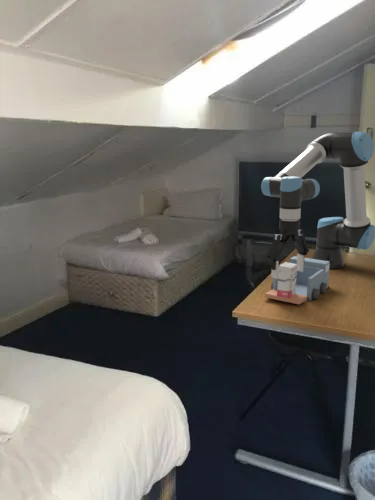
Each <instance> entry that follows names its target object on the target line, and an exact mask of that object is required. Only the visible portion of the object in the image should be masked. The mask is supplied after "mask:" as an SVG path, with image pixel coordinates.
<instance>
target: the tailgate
mask: <svg viewBox="0 0 375 500" xmlns="http://www.w3.org/2000/svg"><path fill="white" fill-rule="evenodd" d="M264 298H266V299H267V298H268V299H271V300H277V301H281V302H285V303H291V304H296V305H301V304H302V303H304V302H307V301H306V300H307V296H305V295H300V294H293V295H292V296H291V297H289V298H285V297H279V296H277V290H275V289H273V290H271V289H270V290H269V291H266V292H265V293H264Z"/></svg>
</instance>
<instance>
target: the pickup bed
mask: <svg viewBox="0 0 375 500" xmlns="http://www.w3.org/2000/svg"><path fill="white" fill-rule="evenodd" d="M289 263H293V264H297V255H294V256H292V257H290V258H289ZM329 265H330V261H324V260H317V259H312V258H311V257H310V258H309V257H304V264H303V272H300V271H297V278H296V290H295V294H300V295H305V296H307V300H306V301H305V302H311V301H312V300H318V299H319V296H320V293H322V294H325V293H326V292H327V290H328V288H329V278H330V277H329V275H330V268H329ZM278 272H279V268H278ZM277 287H278V279H276V278H273V277H272V282H271V286H270V291H271V290H273V289H275V290H277Z"/></svg>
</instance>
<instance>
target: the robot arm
mask: <svg viewBox="0 0 375 500" xmlns="http://www.w3.org/2000/svg"><path fill="white" fill-rule="evenodd" d="M374 148H375V147H374V141H373V138H372V137H371V135H370V134H369V133H368V132H366V131H363V132H362V131H357V130H356V131H331V132H328V133H325V134H322V135H321V136H319V137H316V138H315V139H314V140H313V141H311V142H310V143H308V144H307V146H306V147H305V150H304V151H303V152H302V153H301V154H299V155H298V156H297V157H296V158H295V159H293V160H292V161H291V162H290V163H289V164H287V166H285V167H284V168H283V169H282V170H281V171H279V173H277V174H276V175H274V176H266V177H264V178H263V180H262V181H261V184H260V189H261V192H262V193H261V194H263V195H264V196H266V197H271V198H279V199H280V200H279V220H278V221H279V222H278V229H279V230H280V232H279V234H277V233H274V234H273V237H272V238H273V239H272V242H271V245H270V248H269V251H268V252H267V256H266V260H267V261H270V270H271V275H270V276H271V278H272V279H273V278H276V279H278V269H279V265H280V264H279V261H278V259H279V258H280V256H281V255H282V252H283V251H284V250H285V248H286V247H287V246H288V245H289V246H290V245H293V246H294V248H295V249H296V251H297V252H298V253H297V254H296V256H297V264H298V265H297V271H300V272H303V264H304V258H306V257H305V256H307V255H308V253H309V251H310V249H309V246H308V243H307V240H306V237H305V230H304V229H301V221H300V219H301V211H302V209H301V208H302V206H301V205H302V202H303V201H308V200H310V201H311V200H312V199H314V198H316V197H317V196H318V195H319V194H320V188H321V187H320V183H319V181H317V180H316V179H314V178H306V179H303V177H304V176H305V175H306V174H307V173H308V172H310V171H311V169H313V168H315V166H316V165H317V164H321V163H323V162H325V161H326V160H338V161H339V166H340V167H341V168H342V169H343V180H344V183H343V185H344V194H345V195H344V198H345V212H346V213H345V215H346V218H344V217H342V216H331V217H329V216H328V217H322V218H320V219H318V222H317V231H316V247H315V251H314V253H313V255H312V257H311V259H317V260H324V261H330V265H329V269H340V268H343V267H344V266H345V260H344V256H343V253H342V252H343V251H342V247H345V248H346V247H347V248H352V249H357V250H364V251H365V250H369V249H370V248H371V246H372V245H373V243H374V241H375V225H374V224H371V223H372V222H371V218H370V217H368V216H367V215H368V214H367V194H366V168H365V167H366V166H367V165H368V164H369V161H370V160H371V159H372V157H373V152H374Z"/></svg>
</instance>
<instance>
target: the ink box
mask: <svg viewBox="0 0 375 500" xmlns="http://www.w3.org/2000/svg"><path fill="white" fill-rule="evenodd" d="M297 265H298V264H293V263H290V262H289V261H288V262H287V261H285V262H283V263H281V264H279V266H278V269H279V272H278V287H277V296H279V297H285V298H289V297H291V296H292V295H293V294H295V290H296V278H297Z"/></svg>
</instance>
